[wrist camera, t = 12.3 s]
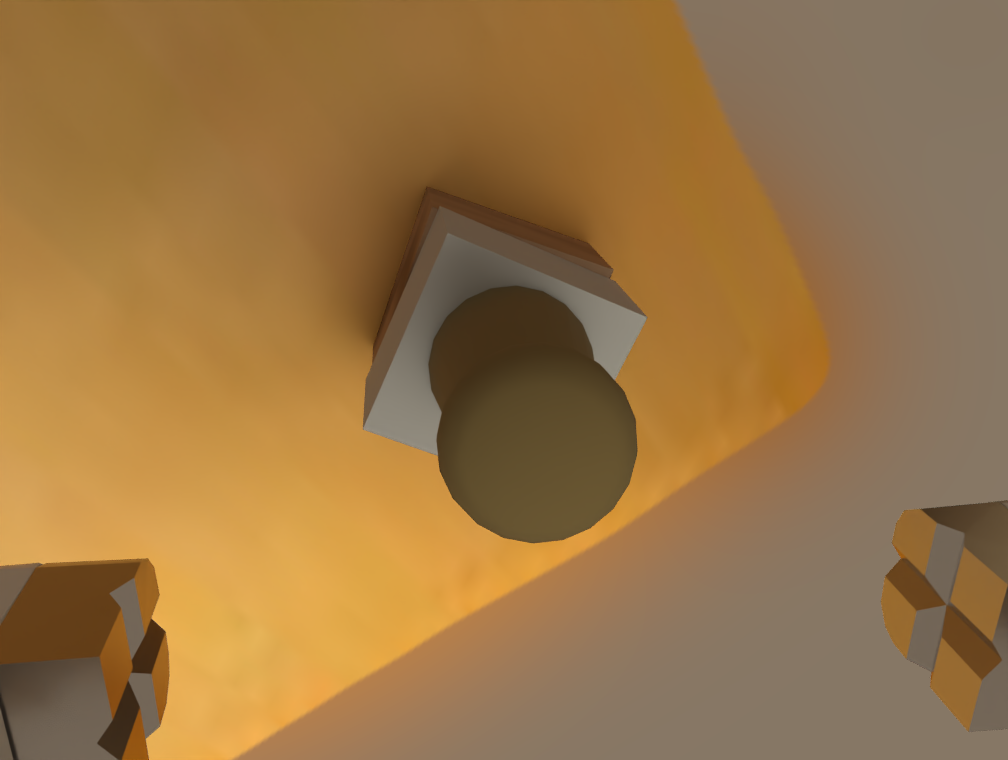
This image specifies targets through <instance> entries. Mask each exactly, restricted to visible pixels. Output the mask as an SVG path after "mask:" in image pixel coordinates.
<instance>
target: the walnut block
mask: <svg viewBox="0 0 1008 760" xmlns="http://www.w3.org/2000/svg"><path fill="white" fill-rule="evenodd" d="M440 206H441V207H444V208H446V209H448V210H451V211H453V212H455V213H458V214H460V215H462V216H465V217H467V218H469V219H471V220H474V221H476V222H478V223H481V224H483V225H485V226H488V227H490V228H492V229H495V230H497V231H499V232H502V233H504V234H506V235H509V236H511V237H513V238H516V239H518V240H520V241H523V242H525V243H527V244H530V245H532V246H534V247H537V248H539V249H541V250H544V251H546V252H548V253H550V254H553V255H555V256H557V257H560V258H562V259H564V260H567V261H569V262H571V263H574V264H576V265H578V266H581V267H583V268H585V269H588V270H590V271H592V272H595V273H597V274H599V275H602V276H604V277H606V278H609V279H610V277H611V274H612V272H613V269H612V268H611V267H610V266H609V265H608V264H607V262H606V261H605V260H604V259H603V258H602V257H601V256H600V255H599V254H598V253H597V252H596V251H595V250H594V249H593V248H592V246H591V245H590V244H589V243H586V242H583V241H580V240H577V239H574V238H571V237H569V236H566V235H563V234H560V233H557V232H554V231H552V230H549V229H546V228H543V227H540V226H537V225H535V224H532V223H529V222H526V221H523V220H520V219H518V218H515V217H512V216H509V215H506V214H503V213H500V212H498V211H495V210H492V209H489V208H486V207H483V206H481V205H478V204H475V203H472V202H469V201H466V200H464V199H461V198H458V197H455V196H452V195H449V194H447V193H444V192H441V191H438V190H435V189H432V188H429V187H427V188H426V191H425V194H424V197H423V200H422V203H421V206H420V209H419V212H418V215H417V218H416V221H415V224H414V227H413V230H412V233H411V236H410V239H409V242H408V245H407V248H406V251H405V254H404V257H403V260H402V262H401V265H400V268H399V271H398V274H397V277H396V280H395V283H394V286H393V289H392V292H391V295H390V298H389V301H388V304H387V307H386V310H385V313H384V316H383V319H382V322H381V325H380V328H379V331H378V334H377V337H376V340H375V343H374V346H373V361H372V364H373V362H374V359H375V357H376V355H377V352H378V350H379V348H380V345H381V343H382V341H383V338H384V336H385V333H386V331H387V329H388V326H389V324H390V322H391V319H392V317H393V315H394V312H395V310H396V308H397V305H398V303H399V301H400V298H401V296H402V294H403V291H404V289H405V287H406V284H407V282H408V279H409V277H410V275H411V272H412V270H413V268H414V265H415V263H416V261H417V258H418V256H419V254H420V251H421V249H422V247H423V244H424V242H425V240H426V237H427V235H428V232H429V230H430V228H431V225H432V223H433V221H434V218H435V216H436V214H437V211H438V209H439V207H440Z"/></svg>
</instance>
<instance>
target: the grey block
mask: <svg viewBox="0 0 1008 760" xmlns="http://www.w3.org/2000/svg"><path fill="white" fill-rule="evenodd" d="M509 286H521V287H526V288H531V289H535V290H540V291H544V292H545V293H547V294H549V295H550V296H552V297H554V298H555V299H557V300H559V301H560V302H562V303H564V304H566V306H567V307H568V308H569V309H570V310H571V311H572V312H573V314H574V315H575V316H576V317H577V318H578V319H579V321H580V322H581V323H582V324H583V326H584V329H585V331H586V334H587V336H588V338H589V341H590V343H591V346H592V349H593V355H594V361H596V362H598V363H599V364H600V365H601V366H602V367H603V368H604V369H605V370H606V371H607V372H608V373H609V375H610V376H611V377H612V378H613V379H614V380H615V379H616V377H617V375H618V373H619V371H620V369H621V367H622V365H623V363H624V361H625V359H626V357H627V356H628V354H629V352H630V350H631V348H632V346H633V344H634V342H635V340H636V338H637V336H638V334H639V333H640V331H641V329H642V327H643V325H644V323H645V321H646V319H647V316H646V315H645V314H644V313H643V312H642V311H641V310H640V309H639V307H638V306H637V305H636V304H635V303H634V302H633V301H632V300H631V299H630V297H629V296H628V295H627V294H626V293H625V292H624V291H623V290H622V289H621V287H620V286H619V285H618V284H617V283H616V282H615V281H613V280H611V279H609V278H606V277H604V276H602V275H599V274H597V273H595V272H592V271H590V270H588V269H585V268H583V267H581V266H578V265H576V264H574V263H571V262H569V261H567V260H564V259H562V258H560V257H557V256H555V255H553V254H550V253H548V252H546V251H544V250H541V249H539V248H537V247H534V246H532V245H530V244H527V243H525V242H523V241H520V240H518V239H516V238H513V237H511V236H509V235H506V234H504V233H502V232H499V231H497V230H495V229H492V228H490V227H488V226H485V225H483V224H481V223H478V222H476V221H474V220H471V219H469V218H467V217H465V216H462V215H460V214H458V213H455V212H453V211H451V210H448V209H446V208H444V207H441V206H440V207H439V209H438V211H437V214H436V216H435V218H434V221H433V223H432V225H431V228H430V230H429V232H428V235H427V237H426V240H425V242H424V244H423V247H422V249H421V251H420V254H419V256H418V258H417V261H416V263H415V265H414V268H413V270H412V272H411V275H410V277H409V279H408V282H407V284H406V287H405V289H404V291H403V294H402V296H401V298H400V301H399V303H398V305H397V308H396V310H395V312H394V315H393V317H392V319H391V322H390V324H389V326H388V329H387V331H386V333H385V336H384V338H383V341H382V343H381V345H380V348H379V350H378V352H377V355H376V357H375V359H374V362H373V364H372V366H371V369H370V371H369V373H368V376H367V378H366V385H365V402H364V418H363V430H366V431H369V432H372V433H374V434H377V435H380V436H383V437H386V438H389V439H392V440H394V441H397V442H400V443H403V444H406V445H409V446H412V447H414V448H417V449H420V450H423V451H426V452H429V453H432V454H434V455H437V456H438V451H437V442H436V439H437V432H438V427H439V422H440V418H441V413H442V412H441V410H440V408H439V405H438V403H437V401H436V399H435V397H434V395H433V393H432V391H431V384H430V375H429V366H428V364H429V359H430V354H431V349H432V344H433V340H434V338H435V336H436V334H437V333H438V331H439V329H440V327H441V326H442V324H443V322H444V320H445V319H446V317H447V316H448V315H449V314H450V313H451V312H452V311H454V310H455V309H456V308H457V307H458V306H459V305H460V304H461V303H463V302H464V301H465V300H466V299H468V298H470V297H472V296H474V295H477V294H479V293H481V292H484V291H486V290H488V289H490V288H499V287H509Z"/></svg>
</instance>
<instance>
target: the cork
mask: <svg viewBox="0 0 1008 760" xmlns="http://www.w3.org/2000/svg"><path fill="white" fill-rule="evenodd" d="M428 366H429V375H430V384H431V391H432V393H433V395H434V397H435V399H436V401H437V403H438V405H439V408H440V410H441V412H442V413H441V418H440V422H439V427H438V432H437V439H436V442H437V451H438V460H439V468H440V472H441V474H442V477H443V479H444V481H445V483H446V485H447V487H448V489H449V491H450V493H451V495H452V498H453V499H454V500H455V501H456V502H457V503H458V504H459V505H460V506H461V507H462V508H463V509H464V511H465V512H466V513H467V514H468V515H469V516H470V517H471V518H472V519H473V520H474V521H475V522H476V523H477V524H478V525H480V526H482V527H484V528H486V529H488V530H490V531H492V532H493V533H495V534H497V535H499V536H501V537H503V538H507V539H512V540H518V541H523V542H528V543H540V542H549V541H558V540H564V539H566V538H569V537H571V536H573V535H576V534H578V533H580V532H582V531H585V530H587V529H589V528H591V527H592V526H593V525H595V524H596V523H597V522H598V521H599V520H601V519H602V518H603V517H604V516H605V515H607V514H608V513H609V512H610V511H611V510H613V508H614V507H615V505H616V504H617V502H618V501H619V499H620V498H621V496H622V494H623V493H624V491H625V490H626V488H627V487H628V485H629V483H630V479H631V475H632V472H633V468H634V464H635V460H636V457H637V435H636V419H635V417H634V414H633V412H632V409H631V407H630V405H629V402H628V400H627V397H626V395H625V392H624V391H623V389H622V388H621V387H620V386H619V385H618V384H617V383H616V381H615V380H614V379H613V378H612V377H611V376H610V375H609V373H608V372H607V371H606V370H605V369H604V368H603V367H602V366H601V365H600V364H599V363H598V362H596V361H594V355H593V349H592V346H591V343H590V341H589V338H588V336H587V334H586V331H585V329H584V326H583V324H582V323H581V322H580V321H579V319H578V318H577V317H576V316H575V315H574V314H573V312H572V311H571V310H570V309H569V308H568V307H567V306H566V304H564V303H562V302H560V301H559V300H557V299H555V298H554V297H552V296H550V295H549V294H547V293H545V292H544V291H540V290H535V289H531V288H526V287H521V286H509V287H499V288H490V289H488V290H486V291H484V292H481V293H479V294H477V295H474V296H472V297H470V298H468V299H466V300H465V301H464V302H463V303H461V304H460V305H459V306H458V307H457V308H456V309H455V310H454V311H452V312H451V313H450V314H449V315H448V316H447V317H446V319H445V320H444V322H443V324H442V326H441V327H440V329H439V331H438V333H437V334H436V336H435V338H434V340H433V344H432V349H431V354H430V359H429V364H428Z"/></svg>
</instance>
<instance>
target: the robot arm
mask: <svg viewBox="0 0 1008 760" xmlns="http://www.w3.org/2000/svg"><path fill="white" fill-rule="evenodd" d="M892 544H893V546H894V547H895V549H896V551H897V552H898V554H899V556H900V558H901V559H900V560H899V562H898V563H897V564H896V565H895V566H894V567H893V569H891V570H890V571H889V573H888V574H887V575H886V576H885V580H884V586H883V593H882V599H881V605H882V610H883V616H884V622H885V627H886V629H887V631H888V633H889V635H890V637H891V639H892V641H893V643H894V644H895V646H896V647H897V648H898V649H899V651H900V652H901V653H902V654H903V656H904V657H905V658H906V659H907V660H910V661H911V662H913V663H915V664H917V665H919V666H921V667H923V668H925V669H927V670H929V671H931V682H930V688H931V689H932V690H933V691H934V692H935V693H936V695H937V696H938V697H939V698H940V699H941V700H942V702H943V703H944V704H945V705H946V706H947V707H948V709H949V710H950V711H951V712H952V713H953V714H954V716H955V717H956V718H957V719H958V720H959V721H960V723H961V724H962V725H963V726H964V727H965V728H966V730H967V731H968V732H974V731H987V730H1002V729H1008V500H1004V501H995V502H988V503H978V504H967V505H956V506H946V507H936V508H924V509H914V510H905V511H904V512H903V513H902V515H901V517H900V518H899V520H898V521H897V523H896V527H895V531H894V536H893V540H892ZM159 595H160V594H159V589H158V584H157V579H156V574H155V569H154V566H153V565H152V564H151V562H150V561H149V559H148V558H146V559H124V560H103V561H81V562H60V563H46V564H40V563H32V564H19V565H7V566H0V760H149V757H148V751H147V745H146V738H147V737H148V736H149V735H151V734H152V733H153V732H154V731H155V730H156V729H158V728H159V727H160V725H161V721H162V718H163V714H164V710H165V707H166V702H167V693H168V684H169V652H168V645H167V638H166V632H165V631H164V630H163V629H162V628H161V627H160V626H159V625H158V624H157V623H156V622H154V621H153V620H152V619H151V617H152V615H153V612H154V609H155V606H156V603H157V601H158V598H159Z"/></svg>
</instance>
